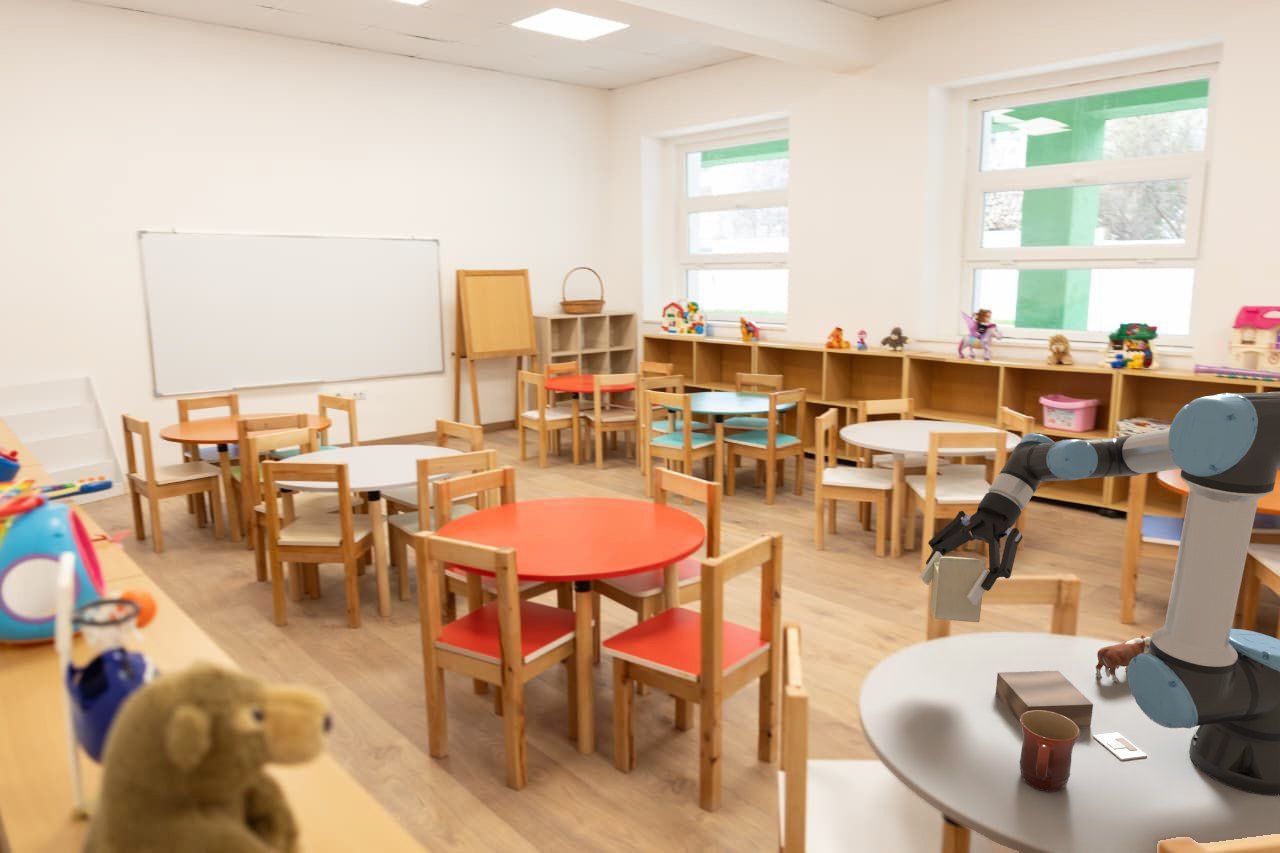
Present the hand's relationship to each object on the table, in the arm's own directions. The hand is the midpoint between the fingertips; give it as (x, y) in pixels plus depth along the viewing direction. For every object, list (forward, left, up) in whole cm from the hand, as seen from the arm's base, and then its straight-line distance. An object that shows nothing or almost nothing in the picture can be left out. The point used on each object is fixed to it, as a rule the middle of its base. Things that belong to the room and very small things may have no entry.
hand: (946, 590), depth 167 cm
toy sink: (+1, -3, -6) cm, 7 cm away
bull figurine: (-6, -37, -19) cm, 42 cm away
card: (-27, -19, -19) cm, 38 cm away
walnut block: (-14, -13, -19) cm, 27 cm away
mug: (-34, +1, -19) cm, 39 cm away
